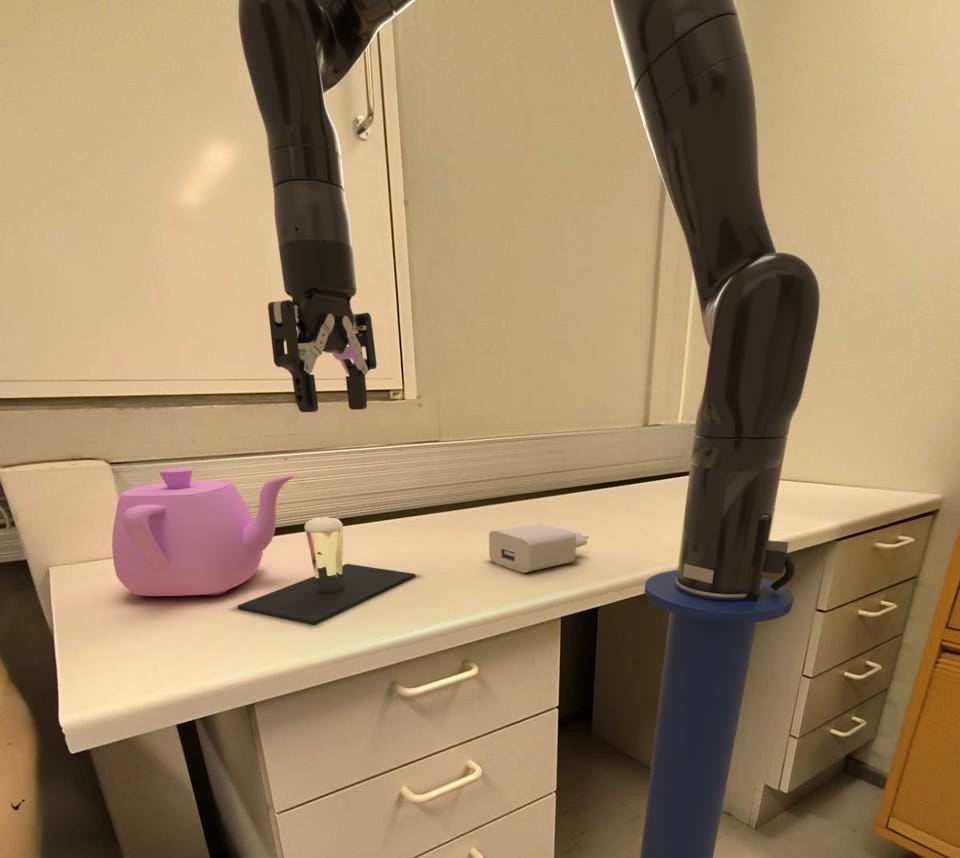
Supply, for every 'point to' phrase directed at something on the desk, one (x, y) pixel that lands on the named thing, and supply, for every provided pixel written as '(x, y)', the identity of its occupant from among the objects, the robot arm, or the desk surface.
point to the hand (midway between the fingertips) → (334, 410)
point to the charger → (534, 546)
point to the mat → (326, 595)
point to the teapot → (190, 535)
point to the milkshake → (326, 552)
